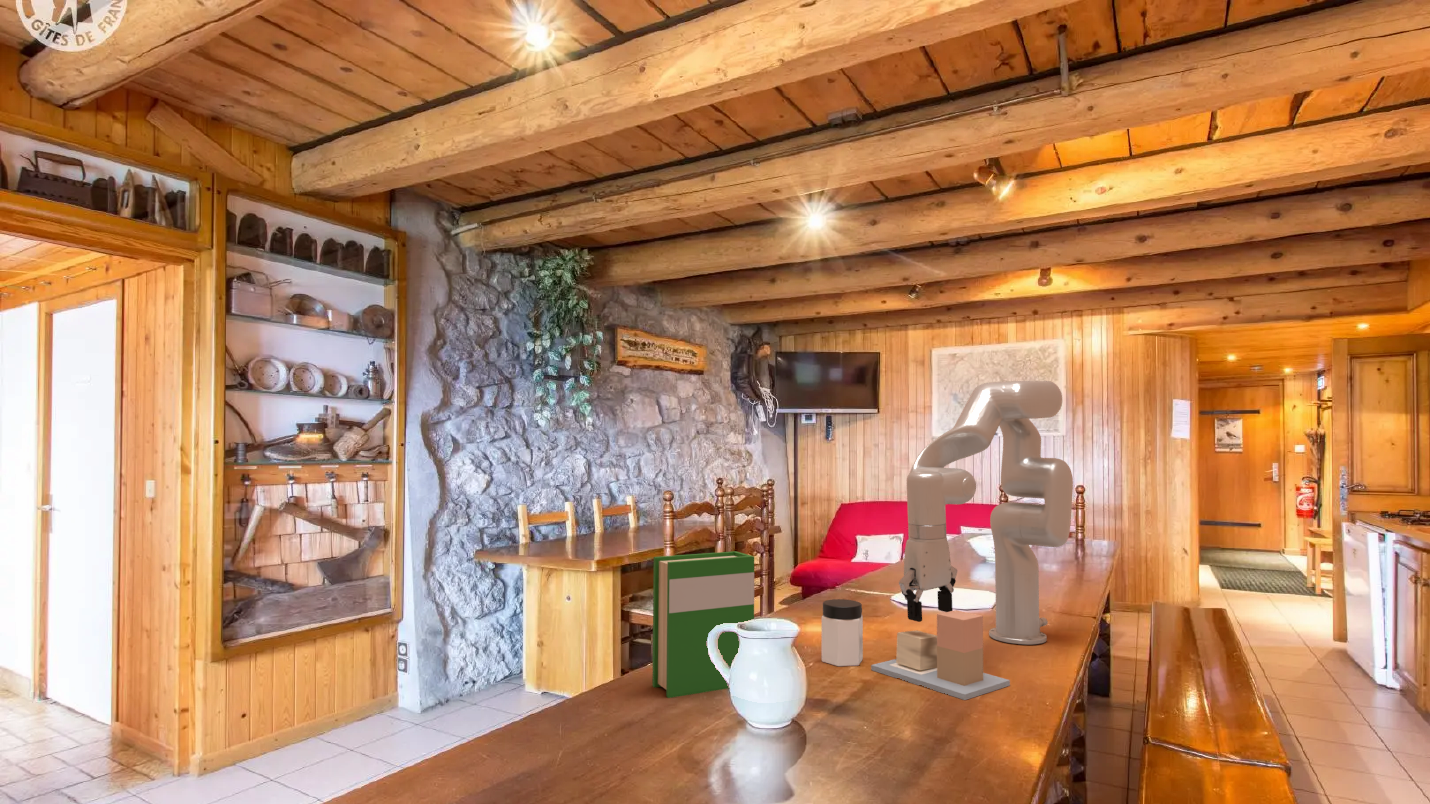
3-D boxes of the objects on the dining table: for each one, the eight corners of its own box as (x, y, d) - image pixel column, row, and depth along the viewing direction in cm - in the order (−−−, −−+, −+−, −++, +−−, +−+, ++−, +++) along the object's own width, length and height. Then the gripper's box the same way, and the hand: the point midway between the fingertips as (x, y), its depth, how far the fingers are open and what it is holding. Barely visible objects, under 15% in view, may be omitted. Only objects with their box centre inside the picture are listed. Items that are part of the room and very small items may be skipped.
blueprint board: (916, 658, 164) (916, 625, 164) (1009, 685, 146) (1009, 648, 146) (871, 670, 155) (871, 634, 156) (964, 700, 138) (964, 660, 138)
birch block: (915, 659, 159) (917, 630, 160) (939, 667, 154) (940, 636, 155) (896, 662, 156) (897, 632, 156) (919, 670, 151) (920, 638, 151)
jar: (871, 662, 161) (871, 604, 162) (845, 669, 156) (845, 609, 156) (839, 652, 168) (839, 597, 168) (813, 659, 163) (813, 601, 163)
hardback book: (668, 698, 138) (669, 562, 139) (652, 686, 145) (653, 557, 146) (753, 684, 146) (754, 556, 147) (735, 673, 153) (735, 551, 154)
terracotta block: (956, 641, 151) (956, 610, 152) (983, 647, 146) (982, 615, 147) (937, 645, 148) (936, 614, 148) (964, 652, 143) (963, 620, 143)
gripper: (938, 525, 166) (941, 605, 166) (884, 535, 156) (887, 620, 156) (968, 528, 160) (971, 611, 160) (914, 539, 150) (917, 627, 150)
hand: (930, 615), depth 158 cm, fingers open, 9 cm apart
